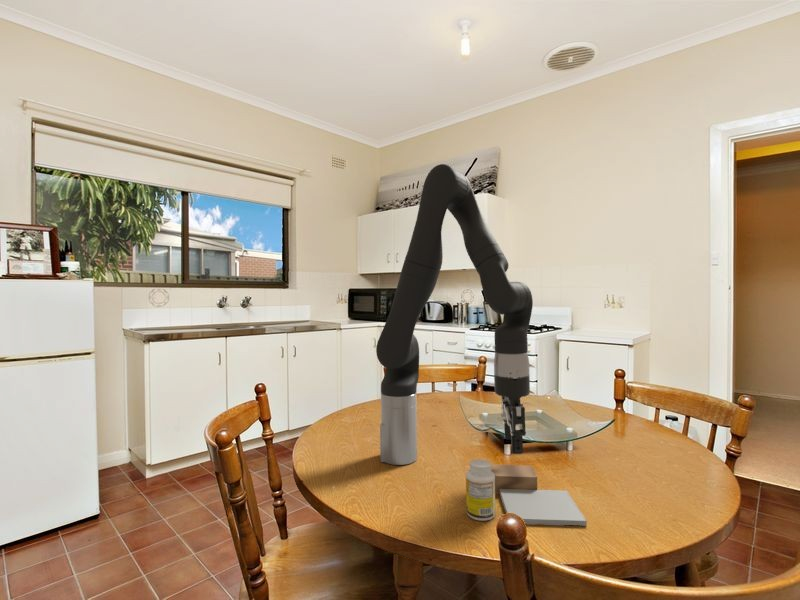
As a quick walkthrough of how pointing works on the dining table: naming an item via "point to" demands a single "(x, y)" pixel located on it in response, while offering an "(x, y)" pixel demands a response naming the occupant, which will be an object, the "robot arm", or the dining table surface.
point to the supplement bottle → (480, 490)
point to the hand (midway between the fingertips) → (513, 445)
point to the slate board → (542, 506)
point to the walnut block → (514, 477)
